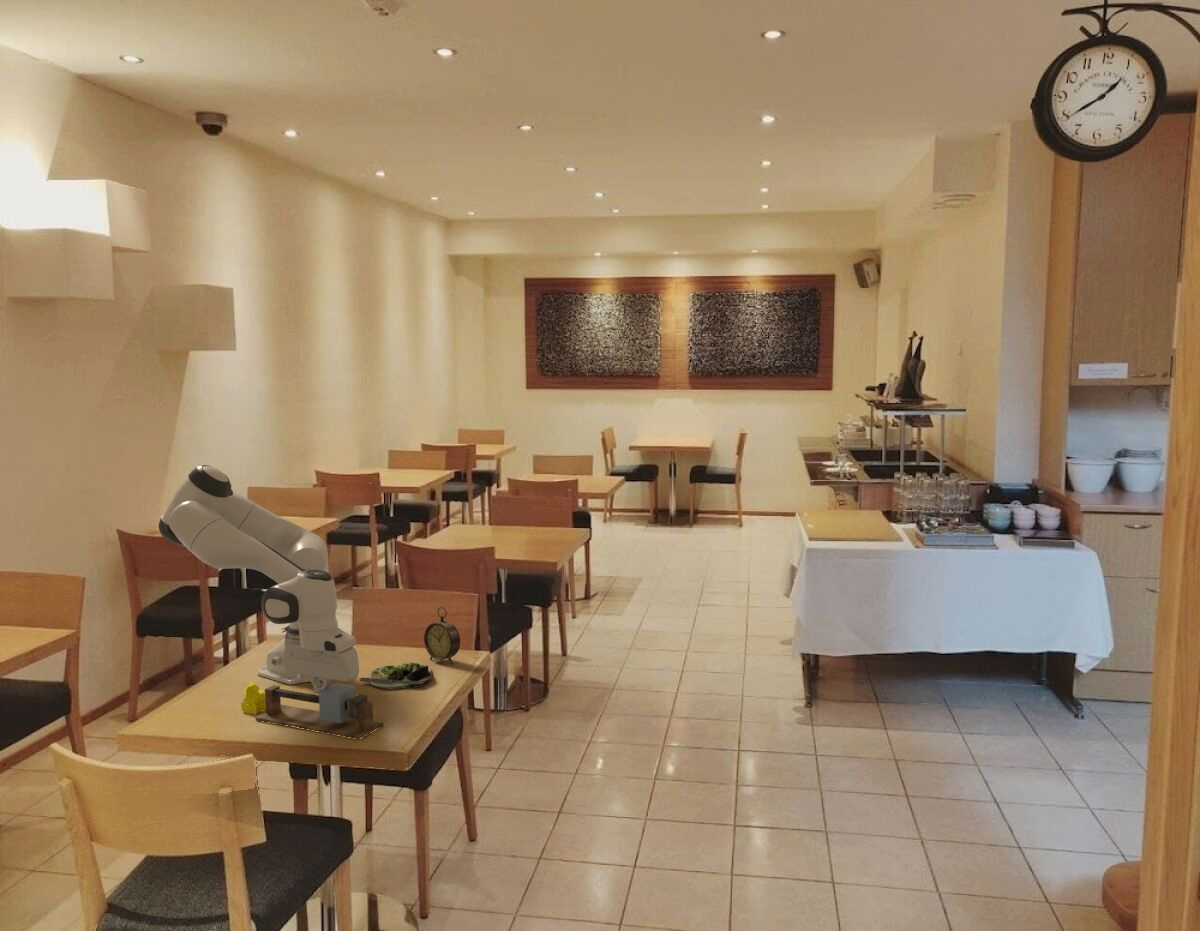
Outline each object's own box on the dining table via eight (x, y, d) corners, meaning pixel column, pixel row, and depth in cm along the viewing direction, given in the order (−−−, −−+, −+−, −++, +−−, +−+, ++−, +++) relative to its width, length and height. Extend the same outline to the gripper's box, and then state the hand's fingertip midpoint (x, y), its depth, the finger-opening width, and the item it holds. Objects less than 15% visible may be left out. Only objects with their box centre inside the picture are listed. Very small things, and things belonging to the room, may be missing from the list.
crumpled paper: (264, 715, 232) (262, 685, 231) (236, 712, 234) (234, 682, 233) (277, 706, 238) (276, 677, 237) (250, 703, 240) (248, 674, 239)
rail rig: (255, 720, 229) (254, 688, 228) (281, 707, 237) (280, 676, 236) (359, 740, 216) (358, 706, 215) (383, 725, 225) (381, 693, 224)
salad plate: (359, 696, 245) (358, 679, 245) (359, 673, 262) (359, 657, 262) (434, 689, 250) (433, 672, 249) (429, 667, 267) (429, 651, 267)
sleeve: (320, 719, 222) (318, 691, 222) (336, 710, 228) (335, 682, 227) (340, 723, 220) (339, 694, 219) (356, 714, 226) (355, 686, 225)
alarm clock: (423, 660, 272) (421, 606, 270) (436, 655, 276) (435, 602, 274) (451, 667, 266) (449, 612, 264) (464, 662, 270) (462, 607, 268)
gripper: (275, 636, 224) (278, 692, 226) (344, 646, 216) (347, 704, 218) (294, 629, 230) (296, 683, 232) (361, 639, 222) (364, 695, 224)
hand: (321, 693), depth 225 cm, fingers closed
